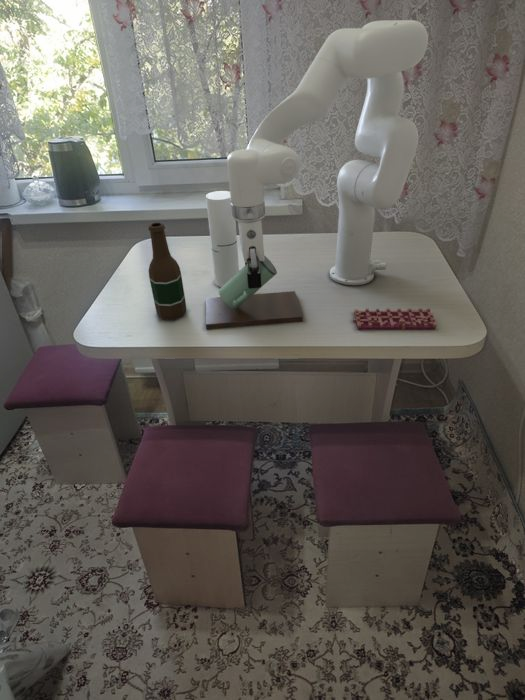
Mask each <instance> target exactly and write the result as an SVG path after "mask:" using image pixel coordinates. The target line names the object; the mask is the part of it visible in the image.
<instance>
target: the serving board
mask: <svg viewBox="0 0 525 700" xmlns="http://www.w3.org/2000/svg"><path fill="white" fill-rule="evenodd" d="M303 316H304V315H303V312H302V310H301V306H300V303H299V300H298V297H297V294H296V291H295V290H292V291H279V292H267V293H265V292H264V293H254V294H253V295H252V296H251V297H250V298H249V299H247V300H246V301H245V302H244V303H243V304H242V305H241V306H239V307H238V308H237V309H232V308H230V307H229V306H228V305H227V304H226V303H225V302H224V301H223V300H222V298H221V297H220V296H216V297H206V298H205V329H206V330H215V329H228V328H229V329H230V328H239V327H240V328H241V327H254V326H264V325H276V324H288V323H301V322H304V321H303V320H304V317H303Z"/></svg>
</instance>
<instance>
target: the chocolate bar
mask: <svg viewBox="0 0 525 700" xmlns="http://www.w3.org/2000/svg"><path fill="white" fill-rule="evenodd" d="M353 314H354V318H353V319H352V322H353V323H356V328H357V331H372V330H373V331H377V330H378V331H382V330H384V331H385V330H386V331H387V330H390V331H391V330H394V331H396V330H398V331H399V330H401V331H403V330H404V331H405V330H411V331H412V330H436V328H437V323H436V318H435V317H434V313H431V308H430V307H427V308H425V310H424V309H423V308H422V307H419V308H418V309H417V310H416V309H415V310H413V309H412V307H409V308H407V309H405V310H402V309H401V308H400V307H398V308H397V309H396V310H391V308H386V310H380V308H375V310H370V309H369V308H365V309H364V310H359V309H357V308H355V309H354V313H353Z"/></svg>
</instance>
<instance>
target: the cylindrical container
mask: <svg viewBox="0 0 525 700" xmlns="http://www.w3.org/2000/svg"><path fill="white" fill-rule="evenodd" d="M205 202H206V210H207V221H208V230H209V239H210V247H211V248H210V249H211V258H212V266H213V276H214V283H215V285H216V286H217V287H218V288H221V287H222V286H223V285H225V284H226V283H227V282H228V281H229V280H230V279H231V278H232V277H233V276H234V275H235V274H237V273H238V272H239V271H240V264H239V252H238V251H239V250H238V240H237V239H238V236H237V235H238V234H237V221H236V220H234V219H233V218H232V209H231V198H230V190H229V191H228V190H216V191H211V192H208V193H207V194H206V195H205Z"/></svg>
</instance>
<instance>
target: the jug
mask: <svg viewBox="0 0 525 700" xmlns="http://www.w3.org/2000/svg"><path fill="white" fill-rule="evenodd" d="M264 257H265V260H264V261H263V262H262V261H260V260H259V269H260V272H261V287H260V288H251V289H249V288H248V279H247V273H248V267H247V264H246V265H245V264H244V265H243V267H242V268H241V269H239V272H238V273H237V274H235V275H234V276H233V277H232V278H231V279H230V280H229V281H228V282H227V283H226V284H225V285H223V286H222V287H219V289H218V295H219V297H221V298H222V300H223V301H224V302H225V303H226V304H227V305H228V306H229V307H230V308H232V309H237V308H238V307H239V306H241V305H242V304H243V303H244V302H245V301H246V300H247V299H249V298H250V297H251V296H252V295H253V294H256V293H257V292H258V291H260V289H262V287H263V286H265V285H266V284H267V283H268V282H269V281H270V280H271V279H272V278H274V277H275V276H276V275H277V274H278V270H277V268H276V266H275V265H274V264H273V263H272V262H271V260H270V259H269V258H268V257H267V256H266V255H264ZM256 260H257V258H256ZM250 267H251V263H250Z"/></svg>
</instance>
